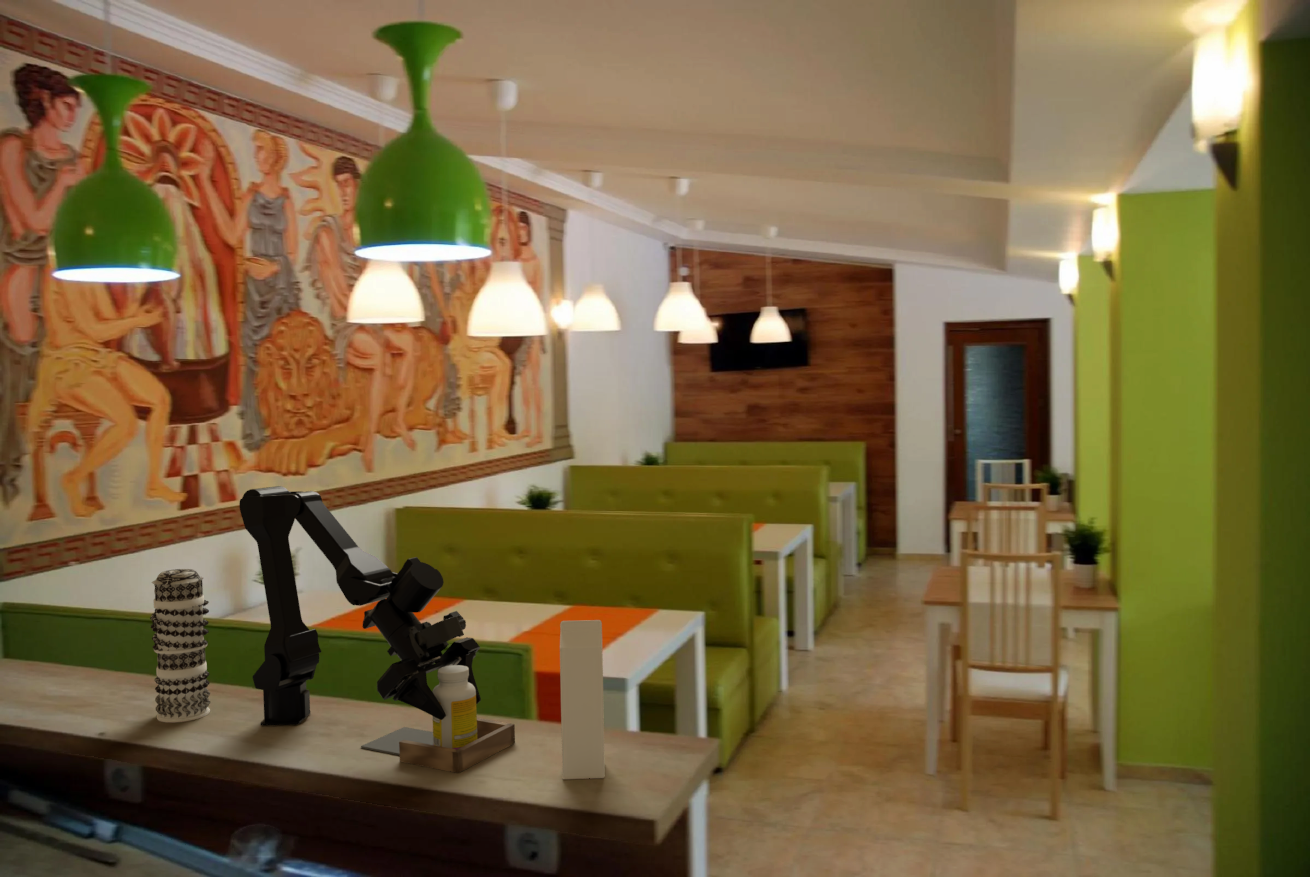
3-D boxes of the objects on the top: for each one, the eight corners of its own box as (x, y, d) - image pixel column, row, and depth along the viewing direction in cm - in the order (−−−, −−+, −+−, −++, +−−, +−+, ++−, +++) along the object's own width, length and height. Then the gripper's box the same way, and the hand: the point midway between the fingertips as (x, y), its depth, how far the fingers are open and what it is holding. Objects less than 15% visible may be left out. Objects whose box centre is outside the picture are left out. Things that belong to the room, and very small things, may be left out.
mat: (360, 748, 162) (360, 746, 162) (404, 728, 171) (404, 726, 171) (410, 757, 157) (410, 755, 157) (453, 737, 166) (452, 735, 166)
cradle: (399, 761, 156) (399, 741, 156) (458, 733, 168) (458, 714, 168) (458, 773, 151) (458, 752, 151) (515, 743, 163) (514, 724, 163)
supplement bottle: (484, 746, 162) (483, 664, 161) (466, 761, 156) (463, 676, 155) (445, 743, 164) (443, 662, 163) (425, 757, 157) (423, 673, 157)
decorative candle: (222, 713, 181) (216, 570, 179) (167, 727, 174) (161, 578, 173) (199, 703, 187) (194, 564, 186) (145, 715, 180) (139, 572, 179)
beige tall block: (604, 778, 148) (602, 625, 147) (561, 780, 148) (559, 626, 146) (604, 763, 154) (602, 615, 153) (563, 764, 154) (560, 616, 152)
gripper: (389, 610, 152) (451, 694, 148) (468, 587, 169) (527, 662, 164) (350, 657, 156) (409, 741, 152) (431, 631, 173) (487, 705, 168)
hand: (461, 709), depth 159 cm, fingers open, 8 cm apart
